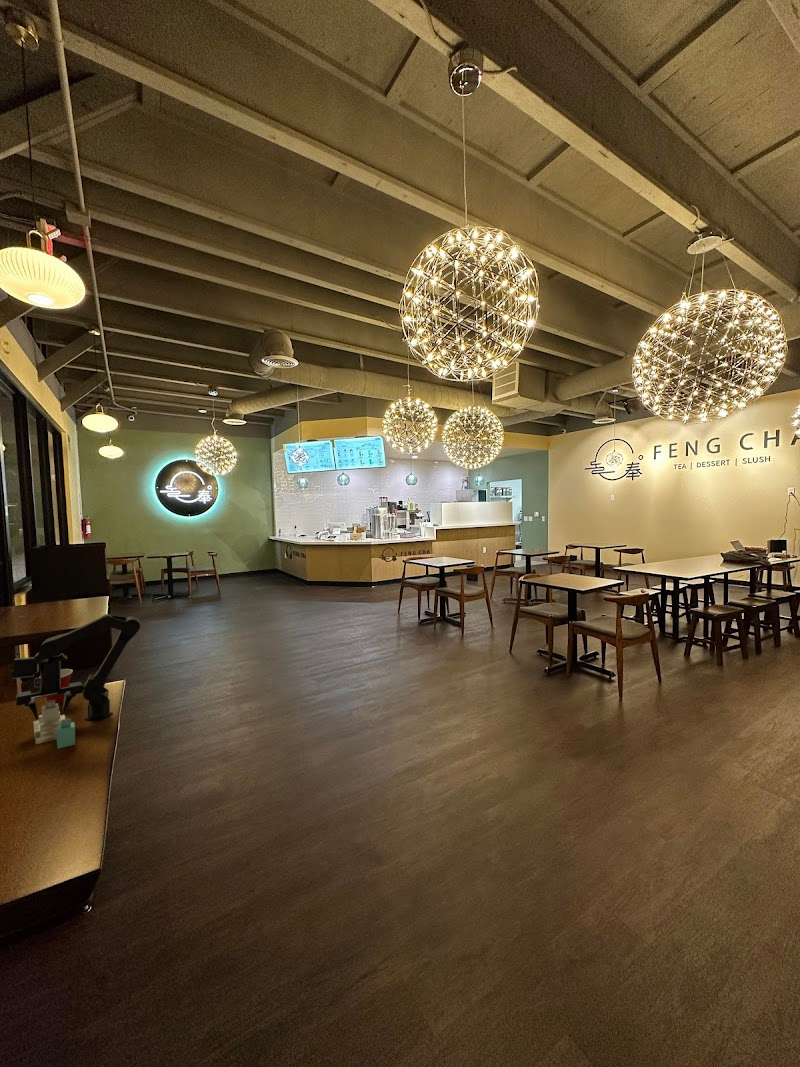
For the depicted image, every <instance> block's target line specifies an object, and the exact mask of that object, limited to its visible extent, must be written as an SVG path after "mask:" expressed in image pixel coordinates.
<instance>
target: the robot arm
mask: <svg viewBox="0 0 800 1067" xmlns="http://www.w3.org/2000/svg"><path fill="white" fill-rule="evenodd" d="M106 627H108V628H112V629H116V630H118V631H119V632H118V636H117V638H116V640H115V642H114V643H113V645H112V647H111V648H110V650H109V652H108V654H107V655H106V657H105V658H104V660H103V662H102V664H101V665H100V666H99V669H98V670H97V671H96V673H94V674H89V675H88V678H87V680H86V681H85V682H84V683H82V682H81V681H76V682H72V683H70V682H69V687H65V688H61V668H62V662H64V661H65V662H66V661H67V660H68V655H66V654H64V653H63V652H62V651H64V650H65V649H66V648H68V647H69V646H71V645H72V644H74V643H75V642H77V641H79V640H81V639H84V638H86V637H87V636H90V635H92V634H94V633H95V632H96V633H97V632H98V631H100V630H102V629H105V628H106ZM140 629H141V622H140V619H139V618H138V617H136V616H128V617H126V616H120V615H114V614H110V613H106V614H103V615H102V616H100V617H98V618H96V619H94V620H92V621H90V622H88V623H85V624H83V625H82V626H79V627H77V628H76V629H72V630H71V631H69V632H66V633H61V634H57V635H55V636H51V637H49V638H46V639H45V640H44V641H43V642H42V643H41V645H40V647H39V651H38V652H37V653H36V654H35V655H34V656H31V657H29V656H28V657H17V658H14V660H13V665H12V670H11V679H13V680H15V679H23V678H30V677H31V678H32V677H35V674H38V673H39V671H40V673H39V674H40V675H39V677H40V678H39V677H36V678H34V680H33V681H34V682H33V683H34V685H33V686H34V688H39V691H38V692H34V693H31V690H28V691H22V692H17V694H16V695H15V706H16V707H19V706H23V705H24V706H23V707H28V708H29V710H30V711H31V712H32V714H33V716H34V718H35V721H38V720H39V713H38V710H37V703H36V699H41V698H46V696H51V695H56V694H61V693H65V694H64V702H63V703H62V704H63V705H62V715H65V712H66V710H67V708H68V707H69V704H70V702H71V701H72V699H73V698H76V696H77V695H78V694H82V697H83V698H84V700H86V701H88V705H87V716H85V717H84V720H87V721H96V722H97V721H98V722H99V721H100V722H101V721H102V720H104V719H106V718H108V717H110V716H111V715H113V714H114V711H113V712H112V711H111V707H110V706H111V705H110V704H111V702H110V701H111V699H109V692H110V690H109V689H107V688H106V687H105V685H106V682H107V679H108V676H109V674H110V673H111V671H112V670H113V669H114V666H115V665H116V663H117V661H118V659H119V658H120V657H121V655H122V653H123V651H124V649H125V648H126V646H127V645H128V643H129V642H130V641H131V640H132V639H133V638H134V637H135V635H137V633H138V632H139V631H140ZM58 654H59V655H58Z"/></svg>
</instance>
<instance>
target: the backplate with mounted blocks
mask: <svg viewBox="0 0 800 1067" xmlns="http://www.w3.org/2000/svg"><path fill="white" fill-rule="evenodd" d="M64 719H67V718H66V715H65V714H62V715H61V712H60V710H59V719H58V720H54V721H49V722H45V723H42V714H40V715H39V714H38V720H34V721H32V724H33V732H34V740H35V741H34V742H35V745H39V744H43V743H46V742H47V743H48V742H52V741H57V726H58V725H61V721H62V720H64Z"/></svg>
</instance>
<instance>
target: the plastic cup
mask: <svg viewBox="0 0 800 1067" xmlns="http://www.w3.org/2000/svg"><path fill="white" fill-rule="evenodd" d="M73 671H74V670H73V669H70V668H62V669H61V688H65V687H69V684H70V682H71V677H72V674H73ZM38 678H40V676H39V677H38ZM64 694H65V693H61V694H56V695H51V696H46V697H45V698H46V699H45V700H46V702H47V701H49V700H55V704H57V703H58V705H60V704H63V703H64Z"/></svg>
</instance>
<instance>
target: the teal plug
mask: <svg viewBox="0 0 800 1067" xmlns="http://www.w3.org/2000/svg"><path fill="white" fill-rule="evenodd" d="M73 745H74V746H75V745H76V725H75V722H74V721H72V719H71V718H66V719H64V720H62V721H61V725H58V726H57V739H56V746H57V749H61V748H67V747H70V746H73Z"/></svg>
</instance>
